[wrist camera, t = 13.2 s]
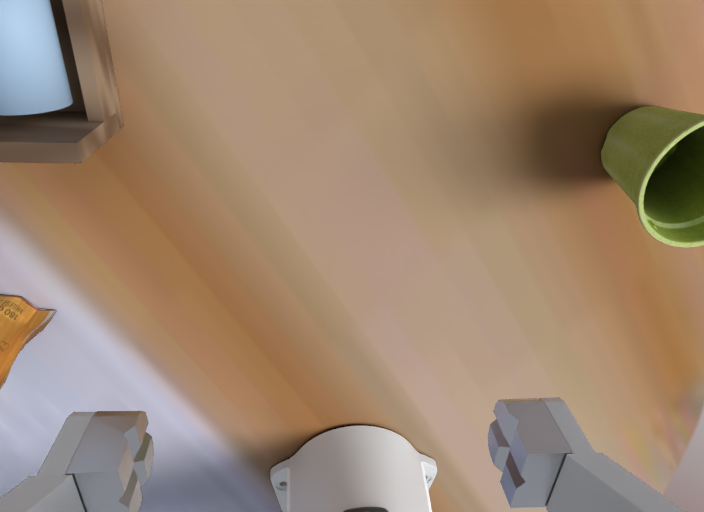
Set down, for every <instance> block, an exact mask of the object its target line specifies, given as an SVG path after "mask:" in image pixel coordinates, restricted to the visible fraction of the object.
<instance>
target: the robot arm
mask: <svg viewBox="0 0 704 512" xmlns="http://www.w3.org/2000/svg"><path fill="white" fill-rule="evenodd" d="M494 414H495V416H496V418H497V419H496V420H495V421H494V422H492V423H491V424H490V427H489V432H488V447H489V451H490V456H491V458H492V461H493V464H494V465H495V466H496V467H497V468H498V469H499V470H501V471H502V472H503V474H502V477H501V481H500V482H501V485H502V488H503V490H504V493H505V495H506V498H507V500H508V503H509V505H510V508H518V507H546V509H547V510H548V511H549V512H686V511H685V510H683V509H682V508H680V507H679V506H678V505H676V504H675V503H673V502H672V501H670V500H669V499H667V498H666V497H665V496H663V495H662V494H660V493H659V492H658V491H656V490H655V489H653V488H652V487H650V486H649V485H647V484H646V483H645V482H643V481H642V480H640V479H639V478H637V477H636V476H635V475H633V474H632V473H630V472H629V471H627V470H626V469H625V468H623V467H622V466H620V465H619V464H617V463H616V462H614V461H613V460H612V459H610V458H609V457H607V456H606V455H604V454H603V453H596V452H595V451H594V449H593V448H592V446H591V444H590V443H589V441H588V439H587V438H586V436H585V434H584V433H583V431H582V430H581V428H580V426H579V425H578V423H577V421H576V420H575V418H574V416H573V415H572V413H571V411H570V410H569V408H568V407H567V405H566V403H565V402H564V400H562V399H561V398H560V397H558V398H539V399H538V398H529V399H505V400H498V401H497V403H496V404H495V408H494ZM147 425H148V419H147V416H146V412H143V411H97V412H73V413H72V414H71V415H70V416H69V417H68V418H67V419H66V421H65V423H64V425H63V427H62V429H61V431H60V433H59V434H58V436H57V438H56V440H55V442H54V444H53V446H52V448H51V450H50V452H49V453H48V455H47V457H46V459H45V461H44V463H43V465H42V467H41V469H40V471H39V473H38V474H37V476H29V477H28V478H27V479H25V480H24V481H23V482H21V483H20V484H19V485H18V486H16V487H15V488H14V489H12V490H11V491H10V492H8V493H7V494H6V495H4V496H3V497H2V498H1V499H0V512H139V509H140V506H141V503H142V499H143V497H142V493H141V489H140V487H141V486H142V485H143V484H144V483H145V482H147V481H148V479H149V476H150V472H151V469H152V462H153V441H152V436H150V435H149V434H148V433H146V432H145V431H146V428H147ZM436 473H437V466H436V462H435V461H434V460H433V459H431V458H429V457H427V456H425V455H423V454H420V453H418V452H417V451H416V450H415V449H414V448H413V447H412V445H411V444H410V443H409V442H408V441H407V440H406V439H405V438H403V437H402V436H400V435H399V434H397V433H395V432H392V431H390V430H387V429H384V428H379V427H374V426H348V427H342V428H337V429H334V430H330V431H328V432H325V433H323V434H320V435H318V436H316V437H315V438H313V439H311V440H310V441H309V442H307V443H306V444H305V445H304V446H302V447H301V448H300V450H299V451H298V452H297V453H296V454H295V455H294V456H292V457H291V458H289V459H287V460H285V461H283V462H281V463H279V464H277V465H275V466H274V467H273V468H272V469H271V471H270V478H271V482H272V485H273V488H274V491H275V493H276V496H277V499H278V501H279V504H280V507H281V509H282V512H432V509H431V504H430V498H429V493H428V490H429V488H430V486H431V484H432V482H433V480H434V478H435V476H436Z"/></svg>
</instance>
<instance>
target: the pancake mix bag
mask: <svg viewBox="0 0 704 512" xmlns="http://www.w3.org/2000/svg"><path fill="white" fill-rule="evenodd" d="M55 313H56V311H55V310H46V309H38V308H36V307H35V306H34V305H32V304H31V303H29V302H28V301H27V300H25V299H24V298H23V297H18V296H9V295H0V389H1V387H2V386H3V384H4V383H5V381H6V379H7V377H8V374H9V371H10V369H11V366H12V364H13V362H14V361H15V359H16V357H17V355H18V353H19V352H20V351H21V350H22V349H23V347H24V346H25V345H26V344H27V343H28V342H29V341H30V340H31V339H32V338H34V337H35V336H36V335H37V334H38V333H39V332H41V331H42V330H43V329H44V328H45V327H46V325H47V324H48V323H49V321H50V320H51V319H52V317H53V316H54V314H55Z"/></svg>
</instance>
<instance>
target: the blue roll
mask: <svg viewBox="0 0 704 512" xmlns="http://www.w3.org/2000/svg"><path fill="white" fill-rule="evenodd" d="M72 103H73V99H72V95H71V90H70V86H69V82H68V77H67V73H66V69H65V64H64V60H63V56H62V51H61V47H60V43H59V38H58V34H57V30H56V25H55V21H54V17H53V12H52V8H51V3H50V0H0V115H28V114H38V113H45V112H50V111H55V110H59V109H62V108H65V107H68V106H70V105H71V104H72Z"/></svg>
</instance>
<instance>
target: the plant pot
mask: <svg viewBox="0 0 704 512" xmlns="http://www.w3.org/2000/svg"><path fill="white" fill-rule="evenodd" d="M601 161H602V164H603V167H604V169H605V170H606V171H607V173H608V174H609V175H610V176H611V177H612V178H613V180H614V181H615V182H616V183H617V184H618V185H619V186H620V187H621V188H622V189H623V191H624V192H625V193H626V194H627V195H628V196H629V197H630V199H631V200H632V201H633V202H634V203H635V205H636V208H637V212H638V216H639V219H640V221H641V223H642V225H643V227H644V228H645V229H646V230H647V232H648V233H649V234H650V235H652V236H653V237H654V238H655V239H657V240H658V241H660V242H662V243H665V244H667V245H671V246H677V247H695V246H701V245H704V115H702V114H696V113H690V112H685V111H679V110H673V109H668V108H663V107H657V106H646V107H641V108H637V109H635V110H632V111H630V112H628V113H627V114H625V115H624V116H622V117H621V118H620V119H619V120H618V121H617V122H616V123H614V125H613V126H612V127H611V128H610V130H609V131H608V133H607V137H606V140H605V143H604V146H603V148H602V150H601Z"/></svg>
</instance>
